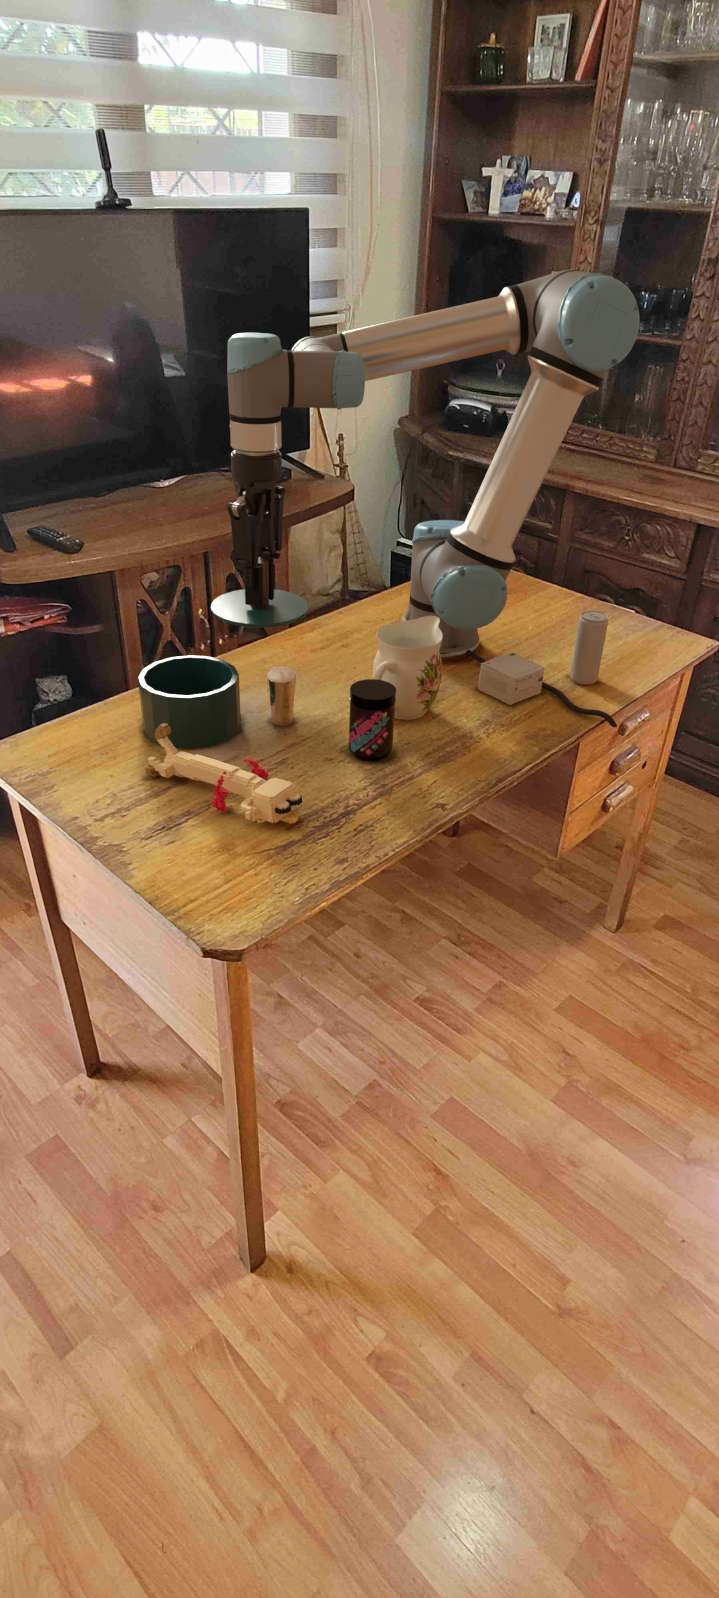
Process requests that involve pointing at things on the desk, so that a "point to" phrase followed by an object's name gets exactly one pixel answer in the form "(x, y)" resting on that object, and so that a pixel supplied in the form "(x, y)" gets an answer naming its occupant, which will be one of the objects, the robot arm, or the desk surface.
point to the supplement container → (371, 719)
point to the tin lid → (269, 614)
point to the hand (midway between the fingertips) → (259, 601)
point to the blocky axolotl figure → (230, 782)
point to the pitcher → (410, 663)
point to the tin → (191, 700)
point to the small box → (510, 678)
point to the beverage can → (588, 647)
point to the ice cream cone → (281, 694)
